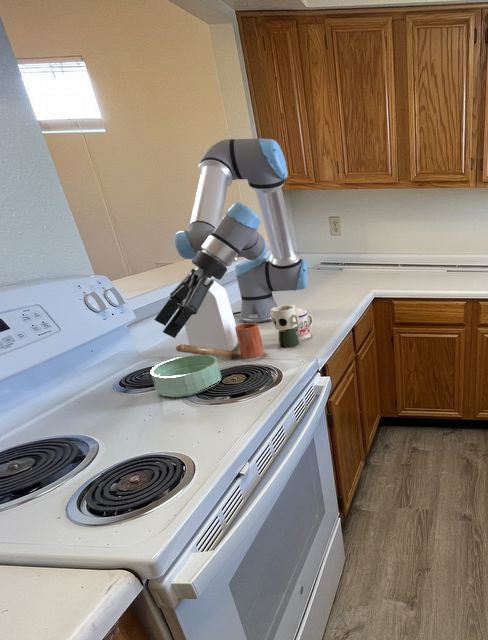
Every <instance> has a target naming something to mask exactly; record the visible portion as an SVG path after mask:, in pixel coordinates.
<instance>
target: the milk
mask: <svg viewBox="0 0 488 640" xmlns="http://www.w3.org/2000/svg"><path fill="white" fill-rule="evenodd" d="M194 269H195V270H197V269H198V267H196V268H194ZM213 281H214V283H213V284H212V286H211V287H210V289H209V290H208V292H207V294H206V296H205V298H204V300H203V302H202V304H201V306H200V307H199V309H198V311H197V313H196V314H195V315H194V314H193V315H191V316H190V318H189V319H188V320H187V322H186V323H185V325H184V329H185V333H186V336H187V342H188V345H191V346H198V347H205V348H212V349H219V350H227V351H234V349H235V347H237V346H238V345H239V343H238V338H237V334H236V330H235V327H236V326H237V323H236V320H235V316H234V315H233V313H234V312H233V310H232V306H231V303H230V299H229V296H228V292H227V290H226V289H225V287H223V286H222V285H221V284H219V283H218V282H216V281H215V280H213ZM185 299H186V298H185ZM185 299H184V300H183V304H184V301H185ZM182 306H183V305H182ZM190 354H191V355H203V354H194V353H190Z"/></svg>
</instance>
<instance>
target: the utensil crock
mask: <svg viewBox="0 0 488 640" xmlns="http://www.w3.org/2000/svg"><path fill="white" fill-rule="evenodd" d="M235 330H236V334H237V338H238V347H239V351H240V355H241V358H243V359H256V358H259V357H262V356H263V355H264V354H265V351H264V346H263V341H262V336H261V331H260V327H259V324H258V323H246V322H244V323H241V324H240V323H239V324H238V325H236V327H235Z"/></svg>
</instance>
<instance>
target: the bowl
mask: <svg viewBox="0 0 488 640" xmlns="http://www.w3.org/2000/svg"><path fill="white" fill-rule="evenodd" d="M150 376H151V379H152V383H153V385H154V388H155V391H156V393H157V394H158V395H160V396H163V397H167V398H183V397H190V396H195V395H198V394H201V393H204V392H206V391H208V389H210V388H213V387H214V386H216V385H218V384H219V383H220V382H221V381H222V378H223V376H222V372H221V368H220V365H219V360H218V358H217V356H211V355H192V354H191V355H185V356H179V357H175V358H171V359H169V360H166V361H163V362H161V363H159V364H157V365H155V366H154V367H152V368H151V370H150ZM221 377H222V378H221ZM218 381H219V382H218ZM217 382H218V383H217ZM215 383H217V384H215ZM213 384H215V385H213ZM211 385H213V386H211ZM209 386H211V387H209ZM207 387H209V388H207ZM205 388H207V389H205ZM202 389H205V390H202ZM200 390H202V391H200ZM198 391H199V392H198Z"/></svg>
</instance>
